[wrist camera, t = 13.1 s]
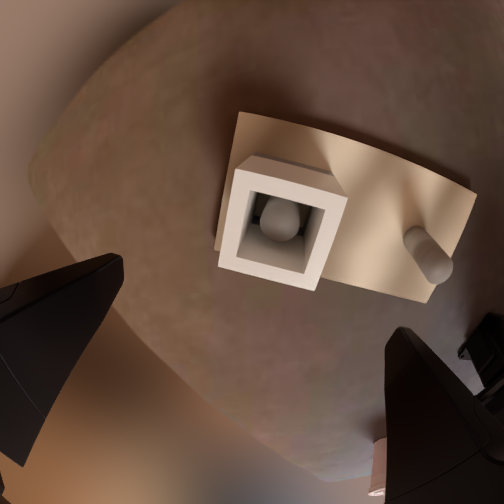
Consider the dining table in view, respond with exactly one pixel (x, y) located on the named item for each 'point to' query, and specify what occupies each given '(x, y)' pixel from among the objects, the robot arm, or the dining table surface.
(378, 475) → the smoothie
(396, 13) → the dining table surface
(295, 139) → the pin board
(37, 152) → the dining table surface
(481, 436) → the robot arm
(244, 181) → the sleeve
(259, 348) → the dining table surface
